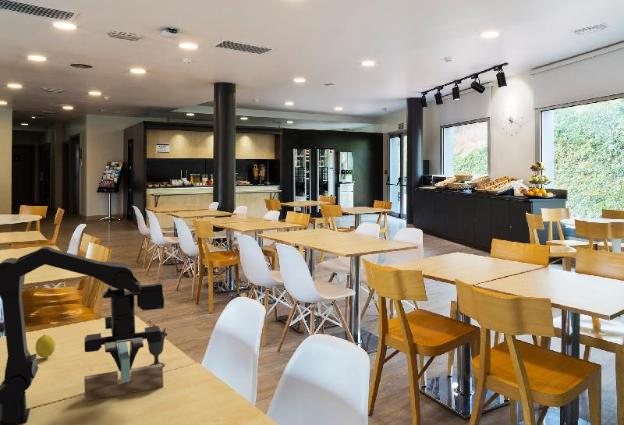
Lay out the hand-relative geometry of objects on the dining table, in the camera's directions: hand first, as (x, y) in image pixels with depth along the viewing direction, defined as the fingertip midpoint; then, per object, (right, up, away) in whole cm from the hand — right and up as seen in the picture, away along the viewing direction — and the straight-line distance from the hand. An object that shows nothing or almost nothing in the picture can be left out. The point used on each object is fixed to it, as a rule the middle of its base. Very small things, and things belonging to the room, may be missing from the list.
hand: (125, 370), depth 127 cm
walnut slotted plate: (-2, -8, +6) cm, 10 cm away
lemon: (-37, -6, +29) cm, 48 cm away
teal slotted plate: (-2, -1, +5) cm, 6 cm away
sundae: (+1, -7, +23) cm, 24 cm away
